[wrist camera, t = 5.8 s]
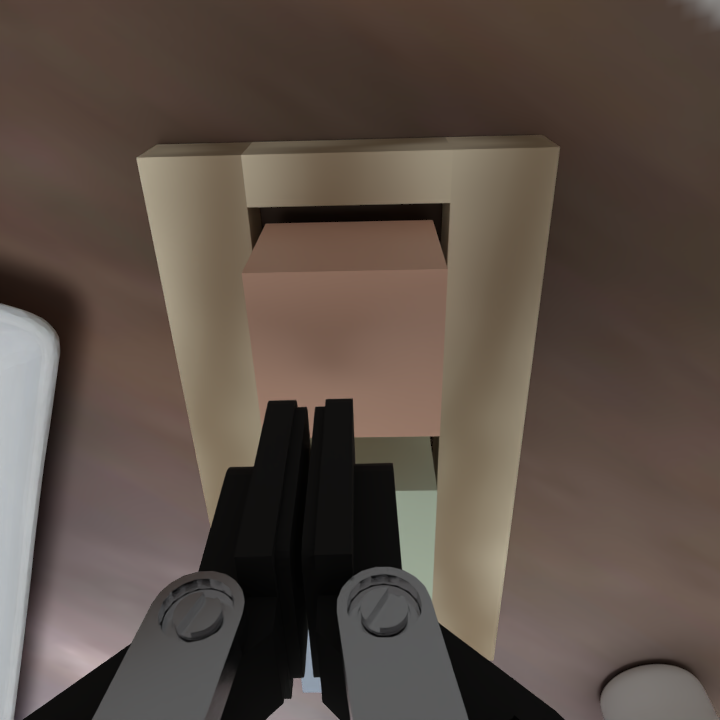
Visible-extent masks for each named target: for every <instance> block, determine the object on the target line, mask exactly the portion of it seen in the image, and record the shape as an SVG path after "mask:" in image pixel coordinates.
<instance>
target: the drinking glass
mask: <svg viewBox="0 0 720 720" xmlns="http://www.w3.org/2000/svg"><path fill="white" fill-rule="evenodd" d="M600 708H601V712H602V716H603V719H604V720H720V719H719V717H718V715H717V713H716V711H715V709H714V707H713V705H712V703H711V701H710V699H709V697H708V695H707V693H706V691H705V689H704V687H703V685H702V684H701V683H700V681H699V680H698V679H697V678H696V677H695V676H694V675H693V674H691V673H690V672H688V671H687V670H685V669H682V668H680V667H677V666H673V665H667V664H649V665H642V666H638V667H634V668H631V669H629V670H626V671H624V672H622V673H620V674H619V675H617V676H616V677H614V678H613V679H612V680H611V681H610V682H609V683H608V684H607V685H606V686H605V688H604V689H603V691H602V694H601V698H600Z"/></svg>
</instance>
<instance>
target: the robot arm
mask: <svg viewBox="0 0 720 720" xmlns="http://www.w3.org/2000/svg"><path fill="white" fill-rule="evenodd" d="M308 631H309V640H310V649H311V659H312V668H313V677H314V678H317V677H320V681H321V691H322V701H323V703H324V704H325V705H326V706H327V707H328V708H329V709H330V710H331V711H332V712H333V713H334V714H335V715H336V716H337V717H338V718H339V719H340V720H564V719H563V718H562V717H561V716H560V715H559V714H558V713H557V712H556V711H555V710H554V709H552V708H551V707H550V706H548V705H547V704H546V703H544V702H543V701H542V700H540V699H539V698H538V697H536V696H535V695H534V694H532V693H531V692H530V691H528V690H527V689H526V688H525V687H523V686H522V685H521V684H519V683H518V682H517V681H515V680H514V679H513V678H511V677H510V676H509V675H507V674H506V673H505V672H503V671H502V670H501V669H499V668H498V667H497V666H495V665H494V664H493V663H491V662H490V661H489V660H487V659H486V658H485V657H484V656H482V655H481V654H480V653H478V652H477V651H476V650H474V649H473V648H472V647H470V646H469V645H468V644H466V643H465V642H464V641H462V640H461V639H460V638H458V637H457V636H456V635H454V634H453V633H452V632H450V631H449V630H448V629H447V628H445V627H444V626H443V625H441V624H440V623H439V622H438V619H437V616H436V613H435V610H434V607H433V603H432V600H431V597H430V595H429V593H428V591H427V589H426V587H425V586H424V585H423V584H422V583H421V582H420V581H419V580H418V579H417V578H416V577H415V576H413V575H412V574H410V573H408V572H406V571H404V570H402V562H401V550H400V538H399V527H398V515H397V503H396V491H395V479H394V468H393V463H366V464H355V439H354V413H353V398H348V399H326V401H325V406H319V407H315V412H314V422H313V432H312V443H310V431H309V419H308V409H307V407H298V405H297V401H296V400H273V401H268V404H267V408H266V413H265V417H264V422H263V426H262V431H261V436H260V440H259V445H258V449H257V454H256V458H255V463H254V466H250V467H229V468H228V469H227V472H226V474H225V478H224V481H223V485H222V489H221V492H220V496H219V499H218V503H217V507H216V510H215V514H214V518H213V521H212V525H211V528H210V532H209V536H208V539H207V543H206V547H205V550H204V554H203V557H202V561H201V565H200V568H199V572H195V573H192V574H188V575H185V576H183V577H181V578H179V579H177V580H175V581H173V582H171V583H170V584H169V585H168V586H167V587H166V588H164V589H163V590H162V591H161V592H160V593H159V594H158V596H157V597H156V599H155V600H154V601H153V603H152V604H151V606H150V608H149V610H148V612H147V614H146V616H145V618H144V620H143V622H142V624H141V626H140V628H139V630H138V631H137V633H136V635H135V637H134V639H133V641H132V643H131V644H130V645H128V646H127V647H125V648H124V649H123V650H121V651H120V652H118V653H117V654H116V655H114V656H113V657H111V658H110V659H108V660H107V661H106V662H104V663H103V664H101V665H100V666H98V667H97V668H96V669H94V670H93V671H91V672H90V673H89V674H87V675H86V676H84V677H83V678H81V679H80V680H79V681H77V682H76V683H74V684H73V685H71V686H70V687H69V688H67V689H66V690H64V691H63V692H62V693H60V694H59V695H57V696H56V697H54V698H53V699H52V700H50V701H49V702H47V703H46V704H44V705H43V706H42V707H40V708H39V709H37V710H36V711H35V712H33V713H32V714H30V715H29V716H27V717H26V718H25V719H23V720H266V719H267V718H268V717H269V716H270V715H271V714H272V713H273V712H274V711H275V710H276V709H278V708H279V707H280V706H281V705H282V704H283V703H284V699H291V698H292V687H293V678H304V676H305V667H306V653H307V640H308Z"/></svg>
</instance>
